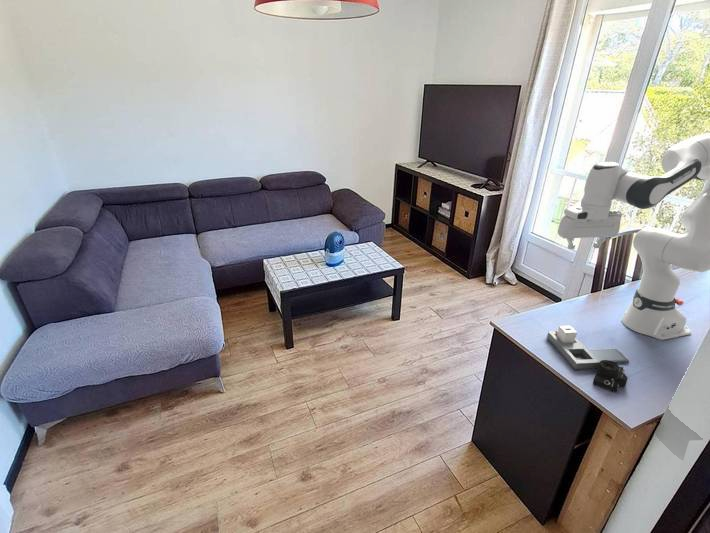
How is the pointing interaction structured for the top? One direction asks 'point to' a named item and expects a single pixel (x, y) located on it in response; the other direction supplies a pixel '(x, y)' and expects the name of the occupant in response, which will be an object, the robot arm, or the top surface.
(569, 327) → the charger
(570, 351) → the power strip
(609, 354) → the plate
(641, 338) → the top surface
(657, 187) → the robot arm
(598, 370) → the film camera
